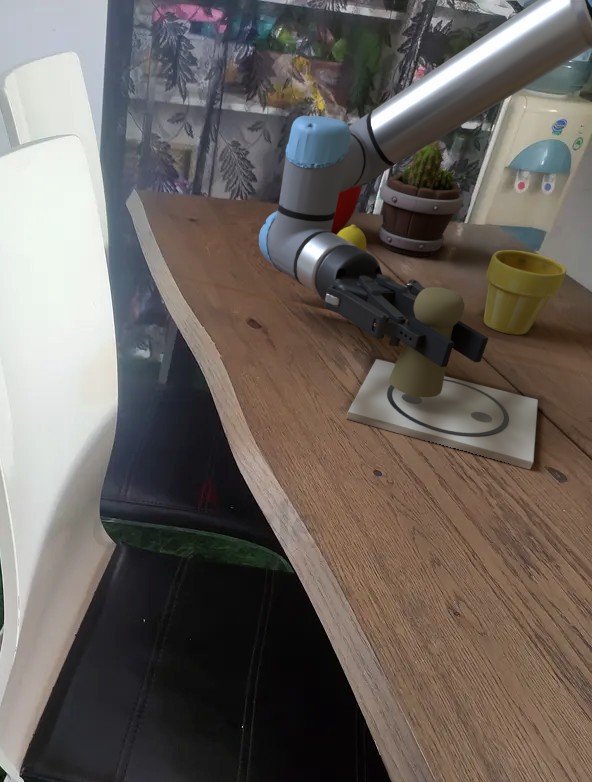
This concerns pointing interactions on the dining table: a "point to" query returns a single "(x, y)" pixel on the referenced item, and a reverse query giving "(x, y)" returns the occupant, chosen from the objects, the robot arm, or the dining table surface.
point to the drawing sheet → (452, 416)
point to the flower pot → (519, 289)
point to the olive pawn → (413, 367)
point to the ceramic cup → (345, 207)
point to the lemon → (354, 236)
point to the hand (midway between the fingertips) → (464, 352)
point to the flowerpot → (419, 204)
